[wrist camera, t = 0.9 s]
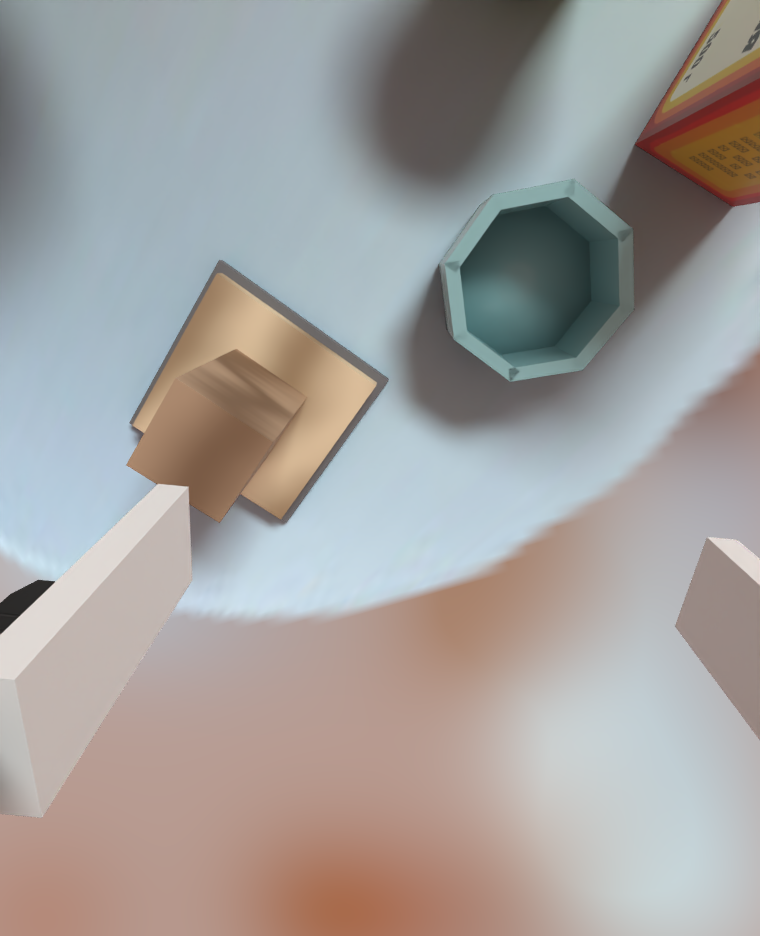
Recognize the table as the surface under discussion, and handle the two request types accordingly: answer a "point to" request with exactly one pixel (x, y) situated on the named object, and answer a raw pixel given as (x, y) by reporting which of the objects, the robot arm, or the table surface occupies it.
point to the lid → (245, 406)
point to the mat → (309, 329)
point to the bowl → (539, 280)
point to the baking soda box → (715, 108)
